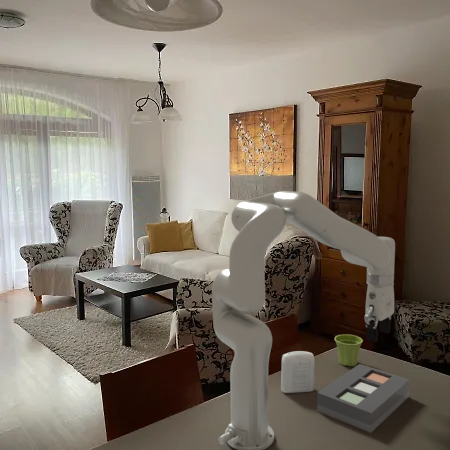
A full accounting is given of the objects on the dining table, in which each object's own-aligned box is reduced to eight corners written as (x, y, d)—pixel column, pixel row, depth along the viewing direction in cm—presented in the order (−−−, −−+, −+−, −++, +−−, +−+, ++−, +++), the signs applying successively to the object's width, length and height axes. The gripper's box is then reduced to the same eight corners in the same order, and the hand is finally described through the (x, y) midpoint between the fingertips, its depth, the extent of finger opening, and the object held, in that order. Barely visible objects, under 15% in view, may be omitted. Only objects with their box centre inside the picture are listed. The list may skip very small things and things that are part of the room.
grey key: (369, 400, 129) (369, 395, 129) (351, 393, 133) (351, 388, 132) (377, 392, 133) (378, 387, 133) (360, 386, 136) (360, 382, 136)
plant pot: (328, 360, 163) (329, 336, 162) (349, 355, 167) (350, 332, 166) (345, 370, 154) (346, 346, 153) (367, 365, 158) (368, 341, 157)
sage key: (355, 411, 123) (355, 406, 123) (337, 404, 127) (337, 399, 127) (365, 403, 127) (365, 398, 127) (346, 396, 131) (347, 391, 130)
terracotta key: (381, 389, 135) (381, 384, 134) (364, 383, 138) (364, 379, 138) (389, 383, 139) (389, 378, 138) (372, 377, 142) (372, 372, 142)
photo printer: (311, 385, 144) (312, 348, 143) (315, 392, 140) (316, 353, 139) (279, 388, 143) (279, 350, 141) (283, 394, 139) (283, 355, 137)
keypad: (370, 433, 119) (371, 413, 118) (317, 411, 129) (317, 392, 129) (408, 396, 137) (409, 379, 136) (358, 380, 148) (359, 363, 147)
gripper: (379, 287, 125) (377, 348, 128) (404, 275, 138) (402, 331, 140) (354, 282, 131) (352, 341, 133) (380, 271, 143) (378, 325, 145)
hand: (378, 336), depth 137 cm, fingers open, 8 cm apart
